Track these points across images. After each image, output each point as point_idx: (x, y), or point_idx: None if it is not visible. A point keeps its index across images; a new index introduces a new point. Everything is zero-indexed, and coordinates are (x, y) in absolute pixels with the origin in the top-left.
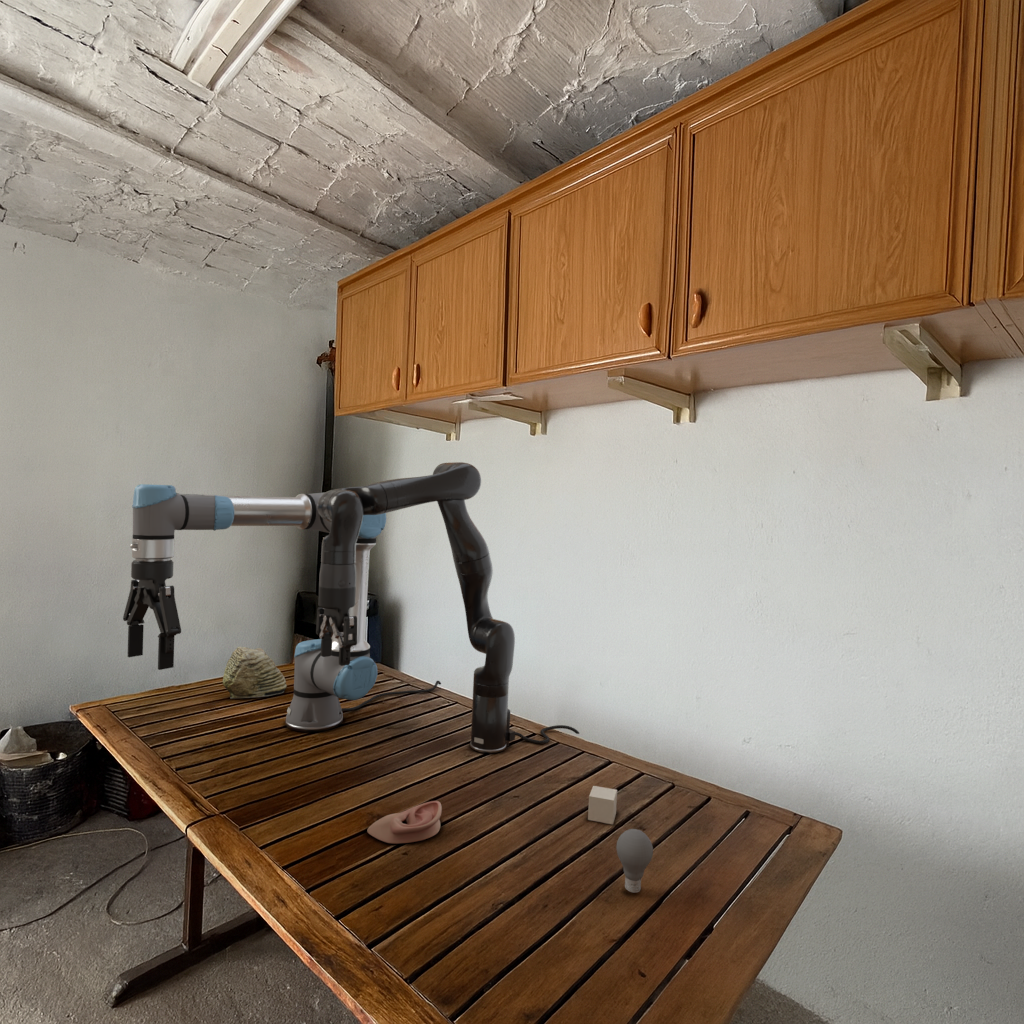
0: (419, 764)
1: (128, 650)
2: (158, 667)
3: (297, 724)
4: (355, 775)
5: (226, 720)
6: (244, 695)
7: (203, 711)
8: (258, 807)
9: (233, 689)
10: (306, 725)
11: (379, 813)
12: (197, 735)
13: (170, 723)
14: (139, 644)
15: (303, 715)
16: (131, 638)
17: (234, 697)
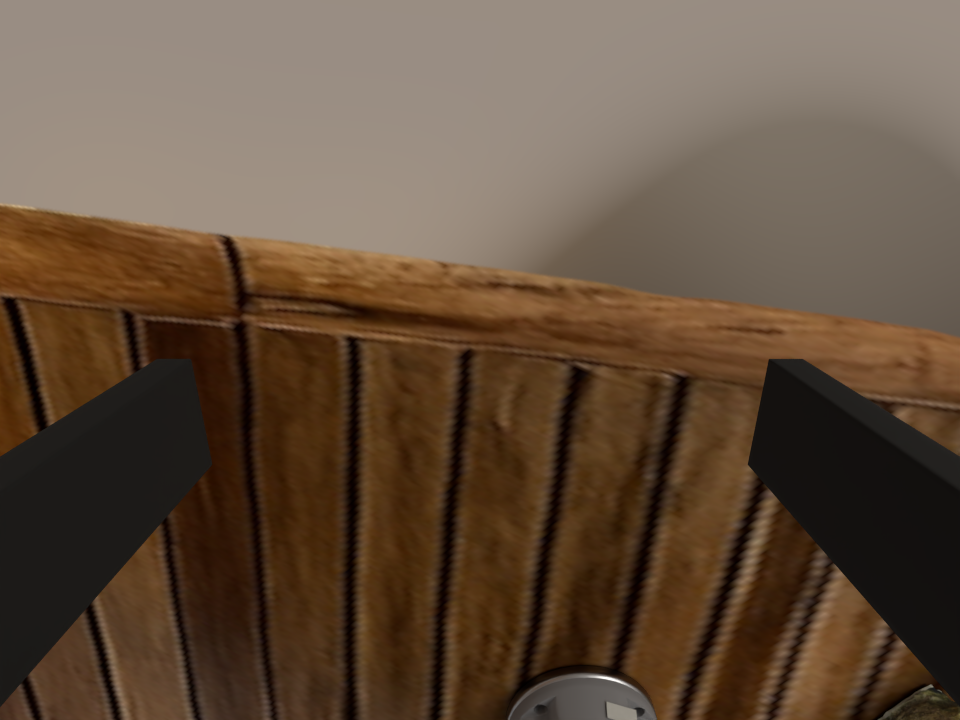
0: (184, 716)
1: (824, 383)
2: (169, 365)
3: (563, 684)
4: (224, 612)
5: (789, 603)
6: (900, 713)
7: None
8: (210, 395)
9: (936, 714)
10: (538, 693)
11: None
12: (757, 509)
13: None
14: (810, 498)
15: (556, 717)
16: (891, 469)
17: (919, 692)
